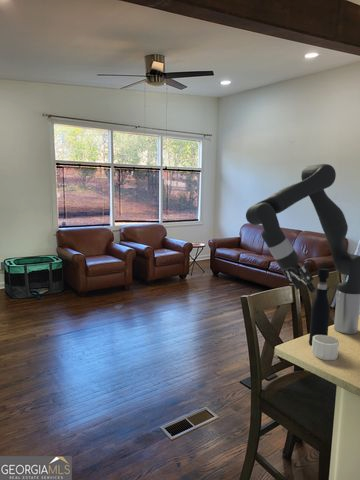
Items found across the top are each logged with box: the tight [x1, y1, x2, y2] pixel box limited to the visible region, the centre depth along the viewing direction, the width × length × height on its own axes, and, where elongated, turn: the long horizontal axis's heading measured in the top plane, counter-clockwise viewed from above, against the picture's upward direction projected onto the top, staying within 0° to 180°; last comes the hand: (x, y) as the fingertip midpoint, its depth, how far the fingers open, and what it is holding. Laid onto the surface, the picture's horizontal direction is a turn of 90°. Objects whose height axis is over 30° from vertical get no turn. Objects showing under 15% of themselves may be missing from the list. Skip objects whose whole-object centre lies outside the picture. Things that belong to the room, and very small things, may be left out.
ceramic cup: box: [311, 335, 340, 361], centre depth 125 cm, size 8×8×6 cm
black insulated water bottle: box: [308, 267, 331, 347], centre depth 132 cm, size 6×6×30 cm
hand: (306, 289), depth 125 cm, fingers open, 8 cm apart
